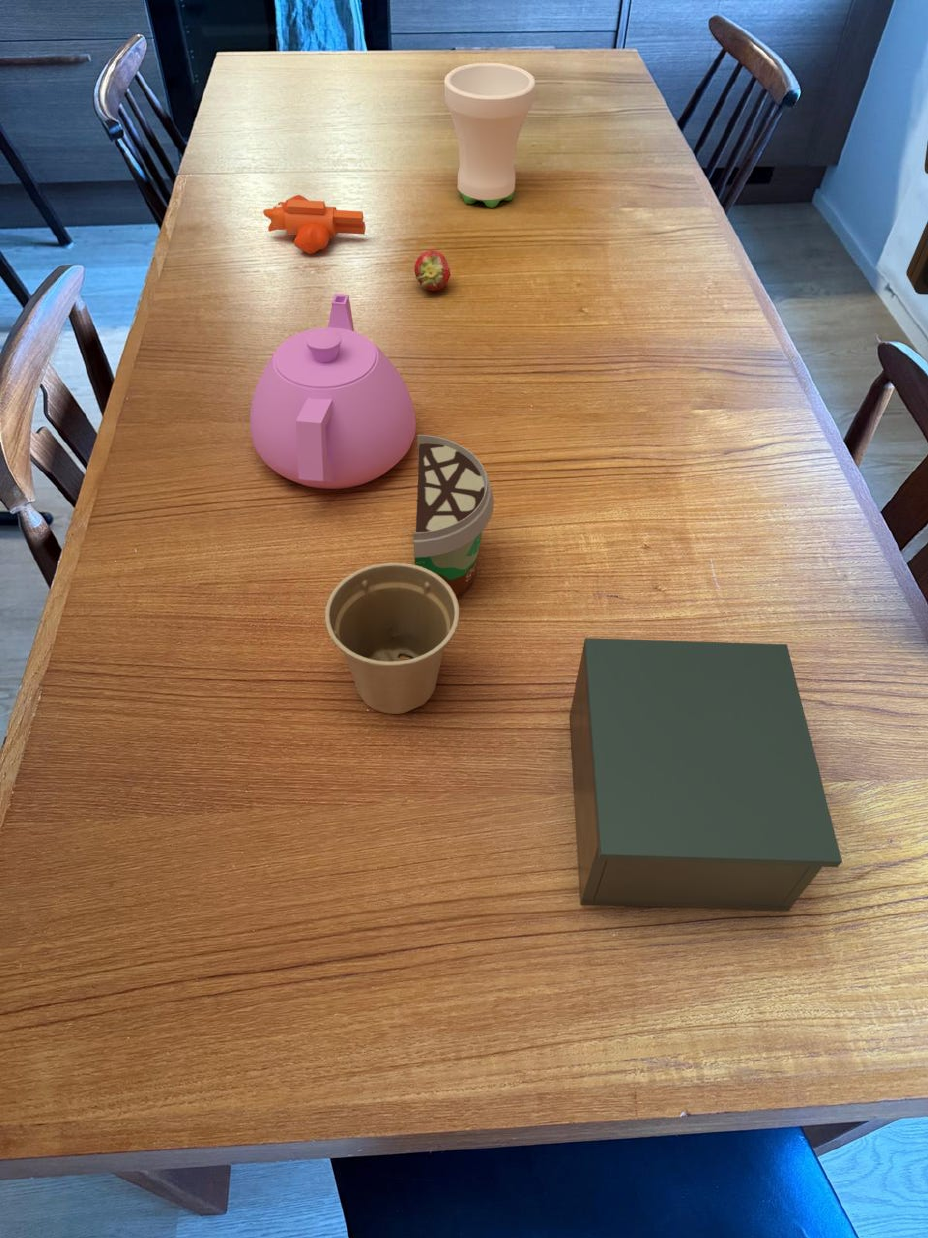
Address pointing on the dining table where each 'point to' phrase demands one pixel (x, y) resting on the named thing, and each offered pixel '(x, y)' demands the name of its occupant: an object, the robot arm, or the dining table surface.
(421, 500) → the food container
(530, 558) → the dining table surface
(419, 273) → the fruit
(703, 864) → the caddy
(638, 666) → the lid
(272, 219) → the orange long irregular piece
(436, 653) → the flower pot
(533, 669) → the dining table surface
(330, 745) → the dining table surface
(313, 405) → the teapot
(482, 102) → the cup
